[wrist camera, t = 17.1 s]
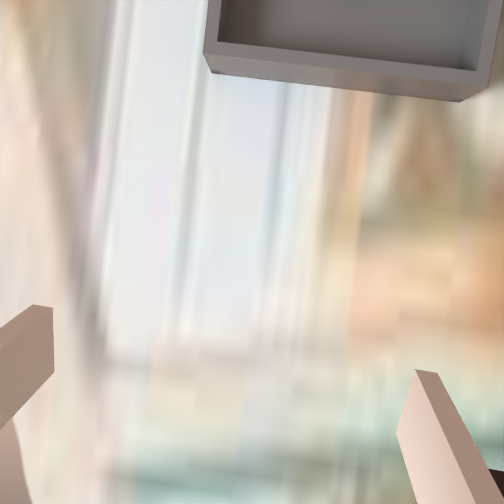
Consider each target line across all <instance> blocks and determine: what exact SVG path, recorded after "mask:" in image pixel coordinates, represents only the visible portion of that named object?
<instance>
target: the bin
mask: <svg viewBox="0 0 504 504" xmlns="http://www.w3.org/2000/svg"><path fill="white" fill-rule="evenodd" d="M502 5H503V0H209V2H208V11H207V20H206V29H205V38H204V47H203V55H204V57H205V59H206V61H207V63H208V66H209V68H210V70H211V72H212V73H214V74H222V75H231V76H239V77H248V78H256V79H265V80H273V81H282V82H290V83H299V84H307V85H316V86H324V87H333V88H341V89H350V90H358V91H367V92H375V93H384V94H392V95H401V96H409V97H418V98H426V99H435V100H443V101H452V102H461V101H463V100H464V99H466V98H468V97H470V96H471V95H473V94H475V93H477V92H479V91H480V90H482V89H484V88H486V87H487V86H488V82H489V76H490V71H491V65H492V60H493V54H494V49H495V43H496V38H497V32H498V27H499V22H500V16H501V11H502Z"/></svg>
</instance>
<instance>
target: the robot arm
mask: <svg viewBox="0 0 504 504" xmlns="http://www.w3.org/2000/svg"><path fill="white" fill-rule="evenodd" d="M53 373H54V340H53V308H50V307H44V306H39V305H31V306H30V307H28V308H27V309H26V310H24V311H23V312H22V313H20V314H19V315H18V316H16V317H15V318H13V319H12V320H11V321H9V322H8V323H7V324H5V325H4V326H3V327H1V328H0V430H1V429H2V427H3V426H4V425H5V424H6V423H7V422H8V421H9V420H10V419H11V418H12V417H13V416H14V415H15V413H16V412H17V411H18V410H19V409H20V408H21V407H22V406H23V405H24V404H25V403H26V402H27V401H28V399H29V398H30V397H31V396H32V395H33V394H34V393H35V392H36V391H37V390H38V389H39V388H40V387H41V386H42V384H43V383H44V382H45V381H46V380H47V379H48V378H49V377H50V376H51V375H52V374H53ZM396 434H397V438H398V441H399V444H400V447H401V451H402V454H403V457H404V460H405V464H406V467H407V470H408V474H409V477H410V480H411V483H412V487H413V490H414V493H415V496H416V500H417V503H418V504H504V472H503V471H498V470H492V469H488V468H487V466H486V464H485V462H484V460H483V458H482V456H481V455H480V453H479V451H478V449H477V447H476V445H475V443H474V441H473V440H472V438H471V436H470V434H469V432H468V430H467V428H466V426H465V424H464V423H463V421H462V419H461V417H460V415H459V413H458V411H457V409H456V408H455V406H454V404H453V402H452V400H451V398H450V396H449V394H448V392H447V391H446V389H445V387H444V385H443V383H442V381H441V379H440V377H439V376H438V374H437V373H434V372H428V371H422V370H416V369H415V371H414V374H413V378H412V381H411V384H410V387H409V391H408V394H407V397H406V401H405V404H404V407H403V411H402V414H401V417H400V421H399V424H398V427H397V431H396Z"/></svg>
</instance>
